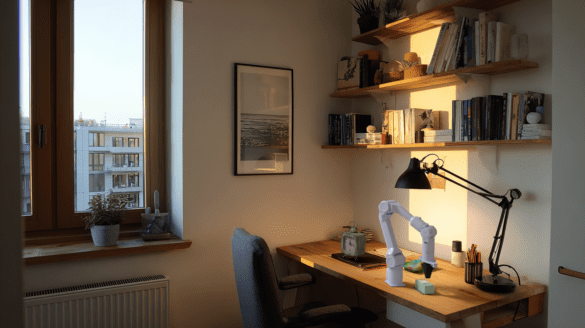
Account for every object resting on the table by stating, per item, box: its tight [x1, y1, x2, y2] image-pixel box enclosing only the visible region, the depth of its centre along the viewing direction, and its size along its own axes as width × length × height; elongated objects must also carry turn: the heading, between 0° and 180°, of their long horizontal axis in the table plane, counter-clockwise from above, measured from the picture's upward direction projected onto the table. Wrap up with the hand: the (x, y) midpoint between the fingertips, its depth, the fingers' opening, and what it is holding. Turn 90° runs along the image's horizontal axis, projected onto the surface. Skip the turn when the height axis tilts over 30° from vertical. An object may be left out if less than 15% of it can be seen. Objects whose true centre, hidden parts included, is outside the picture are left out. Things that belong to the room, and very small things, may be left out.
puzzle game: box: [403, 258, 424, 274], centre depth 246 cm, size 12×5×20 cm
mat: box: [412, 286, 436, 295], centre depth 208 cm, size 10×7×1 cm
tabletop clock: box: [340, 220, 367, 260], centre depth 267 cm, size 14×9×25 cm, turn 37°
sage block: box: [414, 278, 435, 295], centre depth 207 cm, size 4×5×10 cm
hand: (427, 278), depth 204 cm, fingers closed
